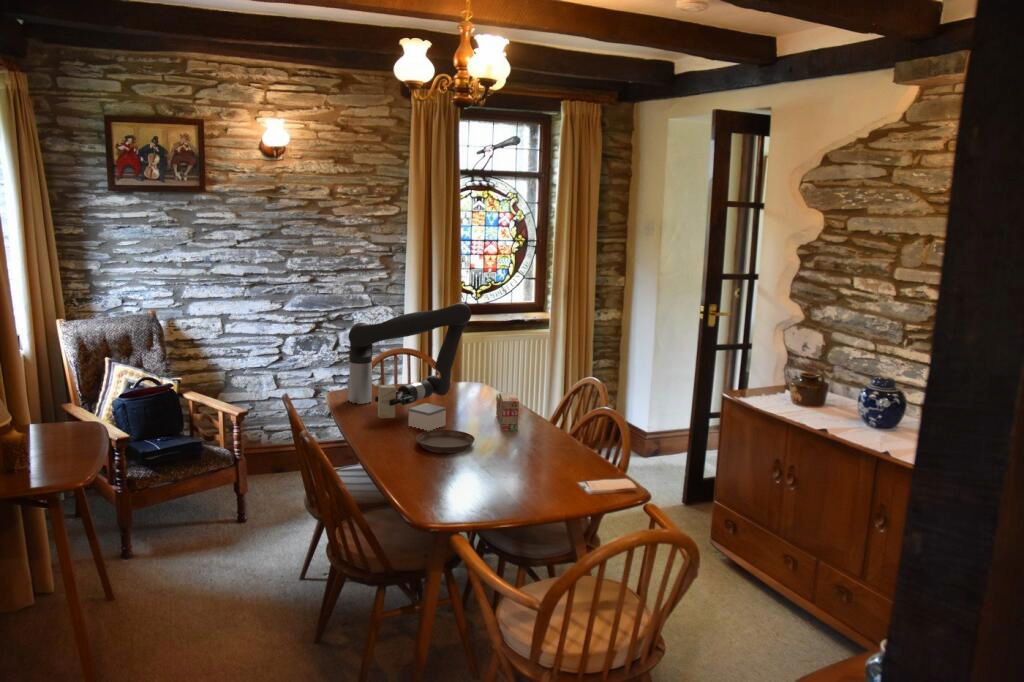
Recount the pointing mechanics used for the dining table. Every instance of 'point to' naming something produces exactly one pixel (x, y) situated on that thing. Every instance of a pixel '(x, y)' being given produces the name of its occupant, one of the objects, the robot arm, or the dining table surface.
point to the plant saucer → (445, 441)
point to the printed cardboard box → (507, 411)
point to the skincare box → (386, 401)
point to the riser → (427, 416)
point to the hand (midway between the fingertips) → (382, 401)
